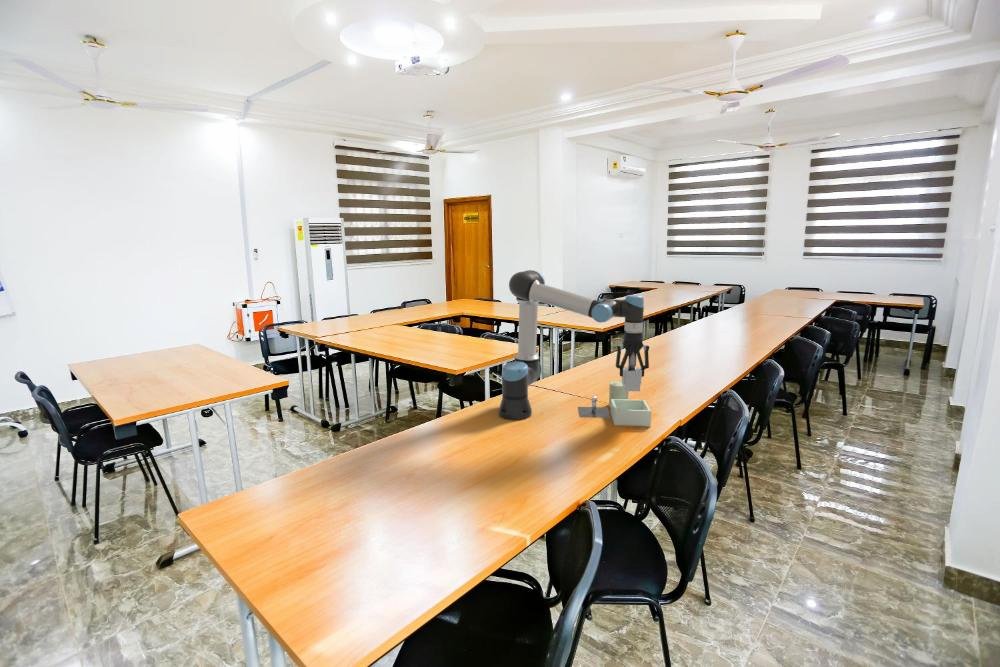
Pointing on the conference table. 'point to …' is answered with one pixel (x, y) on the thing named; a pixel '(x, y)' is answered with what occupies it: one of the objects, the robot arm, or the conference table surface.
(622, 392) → the can
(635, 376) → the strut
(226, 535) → the conference table surface
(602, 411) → the stud plate
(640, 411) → the bin
